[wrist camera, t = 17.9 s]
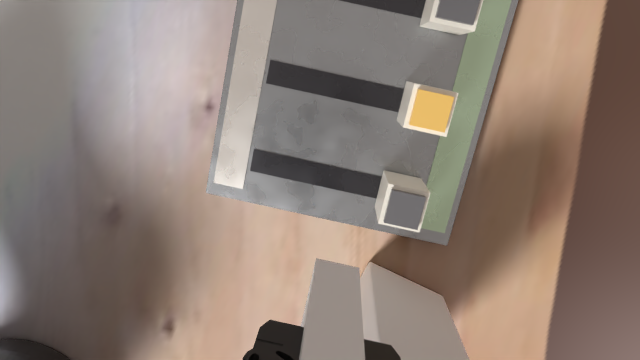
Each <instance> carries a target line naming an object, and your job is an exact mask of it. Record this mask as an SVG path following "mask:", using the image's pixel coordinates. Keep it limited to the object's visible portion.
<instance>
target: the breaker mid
mask: <svg viewBox="0 0 640 360" xmlns="http://www.w3.org/2000/svg"><path fill="white" fill-rule="evenodd" d="M457 97H458V93H457V92H453V91H449V90H445V89H440V88H436V87H431V86H427V85H422V84H417V83H413V82H408V81H406V84H405V88H404V92H403V96H402V100H401V104H400V108H399V112H398V116H397V121H398V122H399V123H400V125H401V126H402V127H403V128H408V129H412V130H417V131H421V132H426V133H431V134H435V135H440V136H444V137H447V133H448V129H449V126H450V122H451V119H452V115H453V111H454V108H455V104H456V100H457Z"/></svg>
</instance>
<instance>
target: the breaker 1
mask: <svg viewBox="0 0 640 360" xmlns="http://www.w3.org/2000/svg"><path fill="white" fill-rule="evenodd" d="M429 196H430V191H429V190H428V188H427V187H426V185H425V184H424V182H423V180H422V179H421V178H418V177H413V176H408V175H404V174H399V173H395V172H390V171H386V170H383V174H382V178H381V182H380V186H379V190H378V195H377V199H376V203H375V210H376V215H377V220H378V224H382V225H387V226H391V227H396V228H400V229H405V230H410V231H414V232H419V233H420V229H421V226H422V222H423V218H424V215H425V211H426V207H427V204H428V200H429Z"/></svg>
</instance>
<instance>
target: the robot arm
mask: <svg viewBox="0 0 640 360" xmlns="http://www.w3.org/2000/svg"><path fill="white" fill-rule="evenodd" d="M0 360H70V359H68V358H67V357H65V356H64V355H62V354H61V353H59V352H57V351H55V350H54V349H51V348H49V347H47V346H44V345H42V344H39V343H35V342H31V341H26V340H19V339H4V340H0ZM243 360H401V358H400V356H399V355H398V353H397V352H396V351H395V349H394V348H393V347H392V345H389V344H384V343H380V342H375V341H371V340H366V339H364V334H363V319H362V304H361V288H360V273H359V268H358V267H353V266H349V265H344V264H340V263H335V262H330V261H326V260H321V259H317V258H316V261H315V266H314V270H313V275H312V279H311V284H310V288H309V292H308V297H307V301H306V306H305V310H304V315H303V319H302V323H301V326H296V325H291V324H287V323H282V322H278V321H273V320H269V321H268V322H266V323H265V324H264V325H263V326H261V327H260V329H259V332H258V335H257V338H256V341H255V344H254V347H253V349H251V350H249V351H248V352H247V353H246V354H245V356H244V357H243Z"/></svg>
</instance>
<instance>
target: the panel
mask: <svg viewBox="0 0 640 360" xmlns="http://www.w3.org/2000/svg"><path fill="white" fill-rule="evenodd" d="M425 1H426V0H237V6H236V12H235V18H234V24H233V30H232V37H231V43H230V49H229V55H228V61H227V67H226V73H225V79H224V85H223V91H222V97H221V104H220V110H219V116H218V122H217V128H216V134H215V140H214V146H213V152H212V158H211V165H210V171H209V177H208V183H207V189H206V193H209V194H213V195H218V196H222V197H227V198H232V199H236V200H241V201H245V202H250V203H254V204H259V205H264V206H268V207H273V208H277V209H282V210H286V211H291V212H296V213H300V214H305V215H309V216H314V217H318V218H323V219H328V220H332V221H337V222H341V223H346V224H350V225H355V226H359V227H364V228H369V229H373V230H378V231H382V232H387V233H391V234H396V235H401V236H405V237H410V238H414V239H419V240H423V241H428V242H433V243H437V244H442V245H446V246H447V245H448V241H449V238H450V234H451V231H452V227H453V224H454V220H455V217H456V214H457V210H458V207H459V203H460V200H461V196H462V193H463V189H464V186H465V183H466V179H467V176H468V172H469V169H470V165H471V162H472V158H473V155H474V152H475V148H476V145H477V141H478V138H479V134H480V131H481V127H482V124H483V121H484V117H485V114H486V110H487V107H488V103H489V100H490V96H491V93H492V90H493V86H494V83H495V79H496V76H497V72H498V69H499V65H500V62H501V58H502V55H503V52H504V48H505V45H506V41H507V38H508V34H509V31H510V27H511V24H512V21H513V17H514V14H515V10H516V7H517V3H518V0H483V3H482V7H481V11H480V14H479V18H478V22H477V25H476V29H475V31H474V32H470V33H466V34H462V35H456V34H452V33H447V32H442V31H438V30H433V29H429V28H424V27H419V26H420V22H421V18H422V13H423V9H424V5H425ZM406 81H408V82H413V83H417V84H422V85H427V86H431V87H436V88H440V89H445V90H449V91H453V92H457V93H458V97H457V100H456V104H455V108H454V111H453V115H452V119H451V122H450V126H449V129H448V133H447V137H444V136H440V135H435V134H431V133H426V132H421V131H417V130H412V129H408V128H403V127H402V126H401V125H400V123H399V122H398V121H397V116H398V112H399V108H400V104H401V100H402V96H403V92H404V88H405V84H406ZM383 170H386V171H390V172H395V173H399V174H404V175H408V176H413V177H418V178H421V179H422V180H423V182H424V184H425V185H426V187H427V188H428V190H429V191H430V196H429V200H428V204H427V207H426V211H425V215H424V218H423V222H422V226H421V229H420V233H419V232H414V231H410V230H405V229H400V228H396V227H391V226H387V225H382V224H378V220H377V215H376V210H375V203H376V199H377V195H378V190H379V186H380V182H381V178H382V174H383Z"/></svg>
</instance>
